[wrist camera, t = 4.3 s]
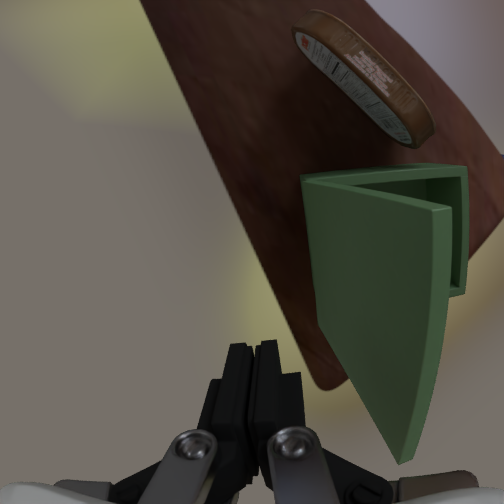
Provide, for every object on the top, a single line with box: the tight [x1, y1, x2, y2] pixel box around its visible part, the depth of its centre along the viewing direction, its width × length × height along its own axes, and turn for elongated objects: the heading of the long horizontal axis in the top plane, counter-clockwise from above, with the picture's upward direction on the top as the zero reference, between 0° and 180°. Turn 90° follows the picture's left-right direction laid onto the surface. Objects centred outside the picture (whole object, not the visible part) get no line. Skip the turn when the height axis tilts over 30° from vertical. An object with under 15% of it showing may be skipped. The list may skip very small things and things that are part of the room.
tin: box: [291, 9, 436, 149], centre depth 22 cm, size 15×3×8 cm, turn 47°
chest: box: [300, 163, 469, 298], centre depth 26 cm, size 14×11×8 cm
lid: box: [302, 180, 452, 465], centre depth 16 cm, size 14×11×1 cm
